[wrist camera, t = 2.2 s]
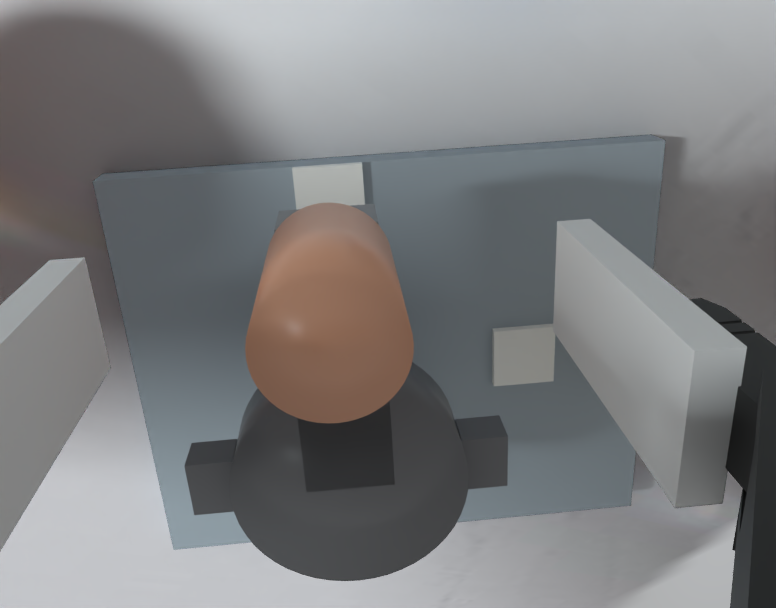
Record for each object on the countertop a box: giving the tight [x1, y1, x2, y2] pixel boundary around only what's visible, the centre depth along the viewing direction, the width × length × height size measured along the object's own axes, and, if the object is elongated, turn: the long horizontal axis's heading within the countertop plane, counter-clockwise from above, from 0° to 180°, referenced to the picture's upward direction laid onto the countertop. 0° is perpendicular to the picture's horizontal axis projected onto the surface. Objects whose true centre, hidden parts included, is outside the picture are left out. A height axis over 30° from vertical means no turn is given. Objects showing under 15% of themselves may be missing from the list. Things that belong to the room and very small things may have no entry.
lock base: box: [93, 135, 666, 550], centre depth 25 cm, size 20×16×8 cm
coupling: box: [184, 203, 508, 581], centre depth 19 cm, size 12×10×7 cm
